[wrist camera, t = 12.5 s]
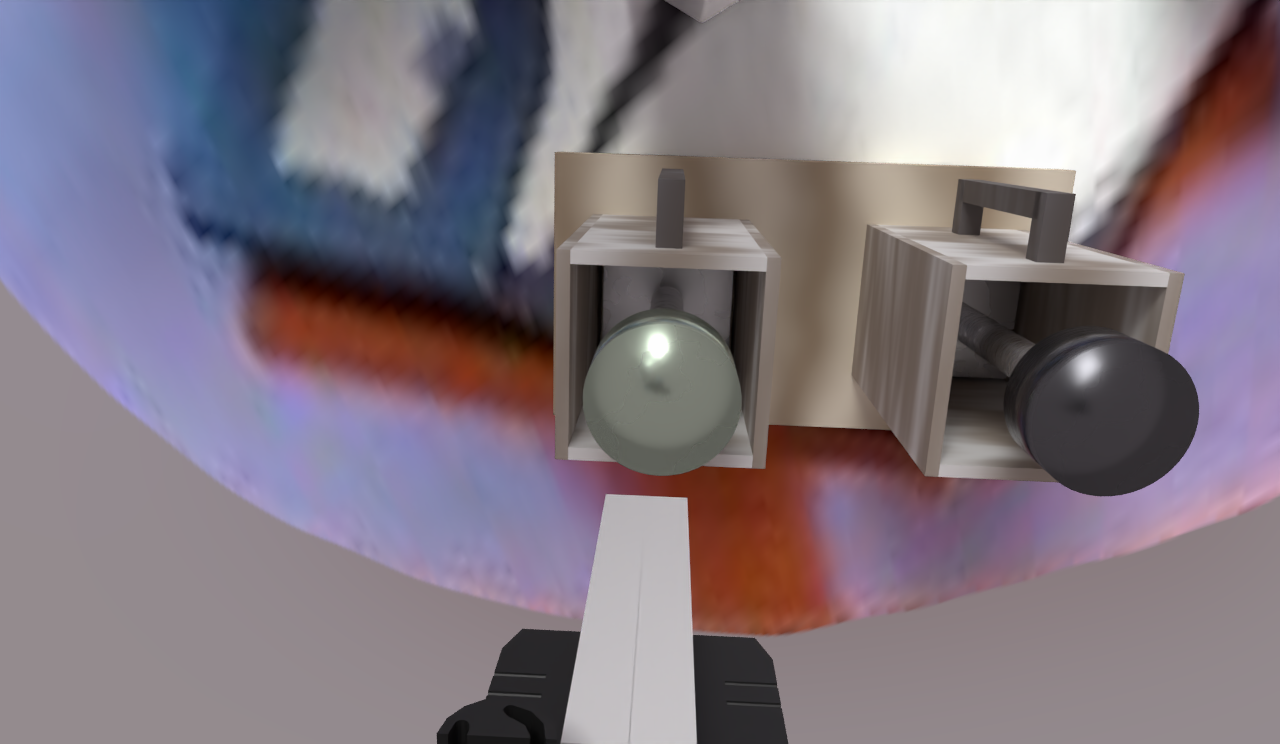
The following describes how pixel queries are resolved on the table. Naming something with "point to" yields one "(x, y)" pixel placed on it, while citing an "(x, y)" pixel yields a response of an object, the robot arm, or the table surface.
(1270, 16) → the table surface
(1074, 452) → the plunger
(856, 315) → the stand
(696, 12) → the jar
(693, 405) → the plunger
